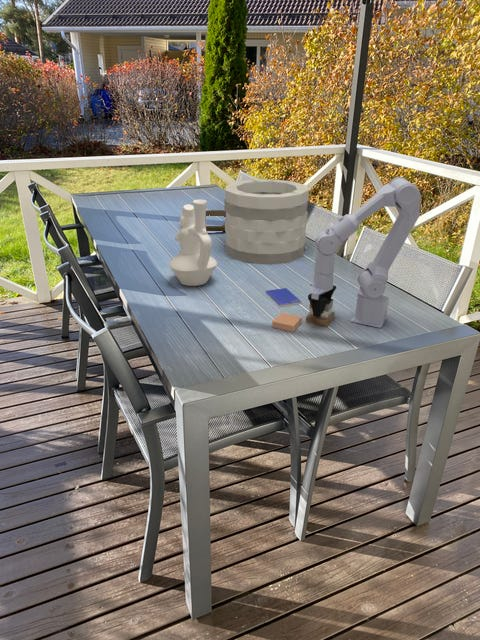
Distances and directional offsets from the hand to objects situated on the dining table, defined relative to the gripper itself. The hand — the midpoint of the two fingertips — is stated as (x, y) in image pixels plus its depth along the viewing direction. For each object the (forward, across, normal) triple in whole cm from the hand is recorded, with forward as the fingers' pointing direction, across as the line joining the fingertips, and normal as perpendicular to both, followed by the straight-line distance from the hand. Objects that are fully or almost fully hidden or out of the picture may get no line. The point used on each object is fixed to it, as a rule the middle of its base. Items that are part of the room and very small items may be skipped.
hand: (320, 311), depth 157 cm
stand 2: (+3, 0, 0) cm, 3 cm away
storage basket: (+3, -53, -44) cm, 69 cm away
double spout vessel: (+3, -7, -51) cm, 52 cm away
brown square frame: (+3, -76, -84) cm, 113 cm away
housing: (+1, 0, 0) cm, 1 cm away
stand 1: (+3, +8, -8) cm, 12 cm away
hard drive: (+4, -10, -17) cm, 20 cm away
